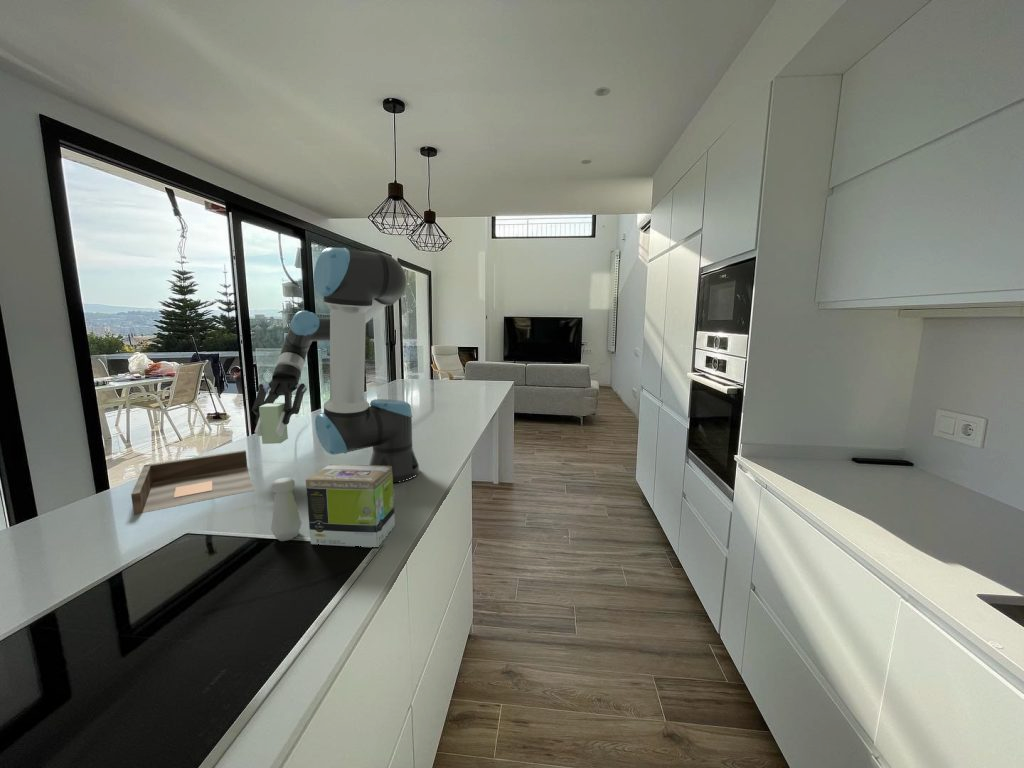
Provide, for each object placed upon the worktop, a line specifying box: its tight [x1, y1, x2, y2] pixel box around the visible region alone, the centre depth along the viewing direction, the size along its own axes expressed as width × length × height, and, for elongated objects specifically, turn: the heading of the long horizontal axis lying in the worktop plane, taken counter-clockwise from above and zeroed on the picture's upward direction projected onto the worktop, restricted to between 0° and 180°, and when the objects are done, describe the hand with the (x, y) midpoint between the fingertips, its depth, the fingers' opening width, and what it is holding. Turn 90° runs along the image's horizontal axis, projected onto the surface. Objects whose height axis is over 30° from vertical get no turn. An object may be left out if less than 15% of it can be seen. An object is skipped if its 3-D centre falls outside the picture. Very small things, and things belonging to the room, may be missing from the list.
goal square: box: [174, 481, 212, 498], centre depth 111 cm, size 8×8×1 cm
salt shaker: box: [270, 477, 302, 542], centre depth 88 cm, size 6×6×13 cm
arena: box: [130, 449, 255, 515], centre depth 113 cm, size 24×24×6 cm
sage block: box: [259, 402, 289, 445], centre depth 120 cm, size 5×5×11 cm
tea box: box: [305, 463, 396, 548], centre depth 89 cm, size 15×10×15 cm
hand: (268, 433), depth 117 cm, fingers closed on sage block, 5 cm apart
